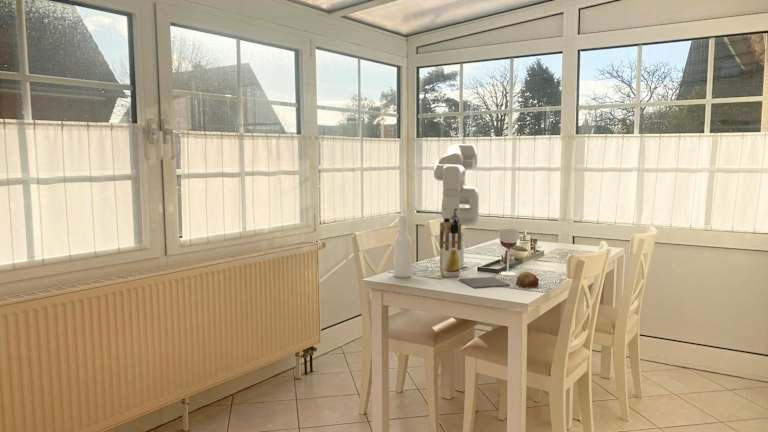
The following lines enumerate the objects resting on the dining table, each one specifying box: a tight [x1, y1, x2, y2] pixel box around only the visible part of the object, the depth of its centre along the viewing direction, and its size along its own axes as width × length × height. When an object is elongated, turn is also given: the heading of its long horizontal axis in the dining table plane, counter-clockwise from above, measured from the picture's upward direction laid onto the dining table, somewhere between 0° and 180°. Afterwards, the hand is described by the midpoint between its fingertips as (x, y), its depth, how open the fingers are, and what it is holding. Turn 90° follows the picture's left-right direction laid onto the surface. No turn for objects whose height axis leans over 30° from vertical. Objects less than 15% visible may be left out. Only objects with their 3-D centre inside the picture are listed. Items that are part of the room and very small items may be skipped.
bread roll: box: [515, 271, 540, 289], centre depth 259 cm, size 10×10×8 cm
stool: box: [439, 221, 462, 251], centre depth 256 cm, size 7×7×12 cm
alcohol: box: [393, 214, 413, 279], centre depth 275 cm, size 9×9×30 cm
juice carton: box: [439, 232, 462, 278], centre depth 277 cm, size 9×8×24 cm
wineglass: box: [498, 228, 520, 276], centre depth 283 cm, size 9×10×22 cm
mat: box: [458, 276, 511, 289], centre depth 263 cm, size 17×18×1 cm
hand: (450, 231), depth 256 cm, fingers closed on stool, 7 cm apart
